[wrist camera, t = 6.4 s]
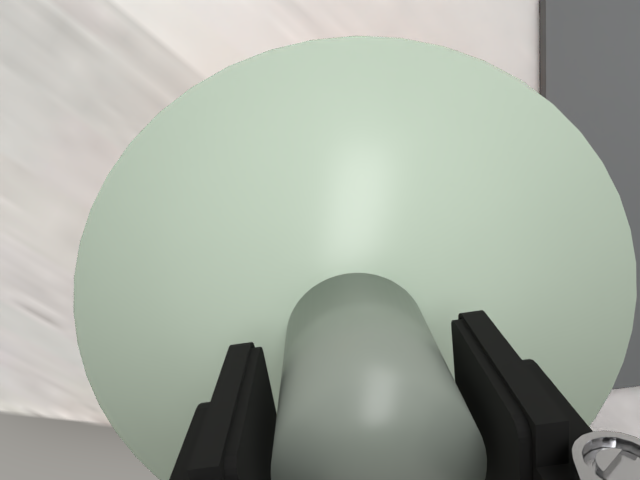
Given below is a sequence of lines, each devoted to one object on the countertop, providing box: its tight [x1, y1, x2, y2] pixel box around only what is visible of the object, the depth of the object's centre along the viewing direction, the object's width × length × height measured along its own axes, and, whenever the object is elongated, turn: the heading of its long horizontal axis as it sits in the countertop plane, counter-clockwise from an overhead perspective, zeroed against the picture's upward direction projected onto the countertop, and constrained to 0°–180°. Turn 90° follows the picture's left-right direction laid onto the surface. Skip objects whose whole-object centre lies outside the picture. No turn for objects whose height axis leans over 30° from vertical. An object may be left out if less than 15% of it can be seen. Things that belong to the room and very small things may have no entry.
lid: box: [74, 36, 637, 480], centre depth 11 cm, size 16×16×6 cm
